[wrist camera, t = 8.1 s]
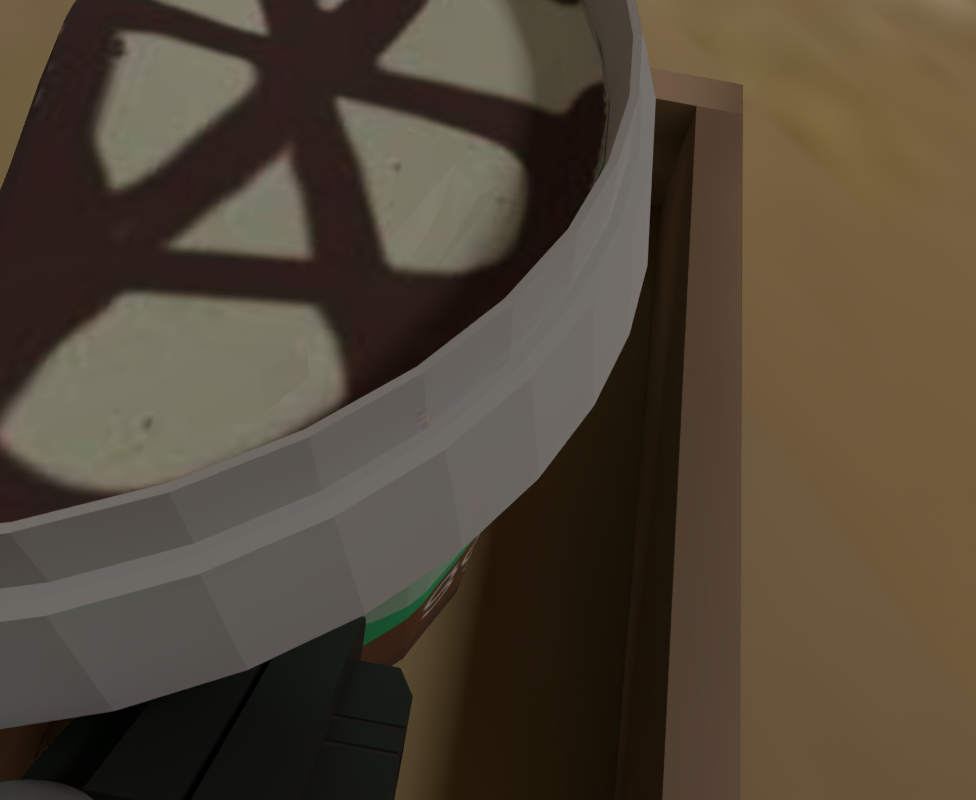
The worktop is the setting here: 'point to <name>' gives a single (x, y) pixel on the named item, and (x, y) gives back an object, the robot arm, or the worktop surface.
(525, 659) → the worktop surface
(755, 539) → the worktop surface
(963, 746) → the worktop surface
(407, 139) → the food container
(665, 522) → the bay
